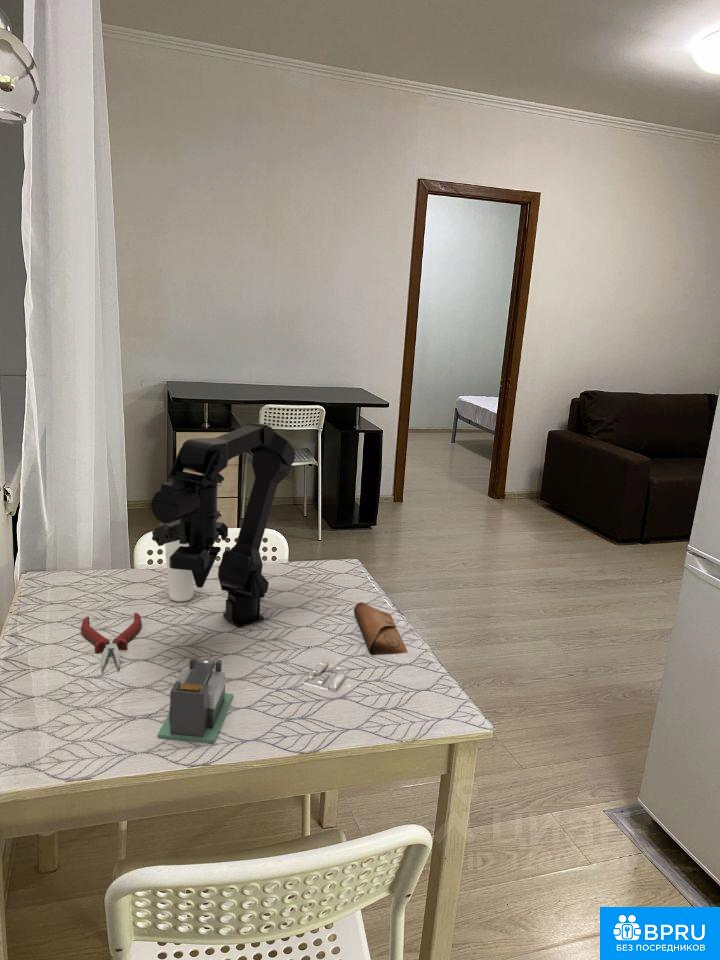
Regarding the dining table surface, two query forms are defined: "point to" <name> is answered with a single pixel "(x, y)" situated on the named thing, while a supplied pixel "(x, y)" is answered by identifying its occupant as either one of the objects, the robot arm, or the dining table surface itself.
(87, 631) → the pliers
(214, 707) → the heat sink
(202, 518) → the robot arm
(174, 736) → the socket board
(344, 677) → the clear plastic blister pack
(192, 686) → the grey hinged lever
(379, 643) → the sunglasses case
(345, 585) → the dining table surface
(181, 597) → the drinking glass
